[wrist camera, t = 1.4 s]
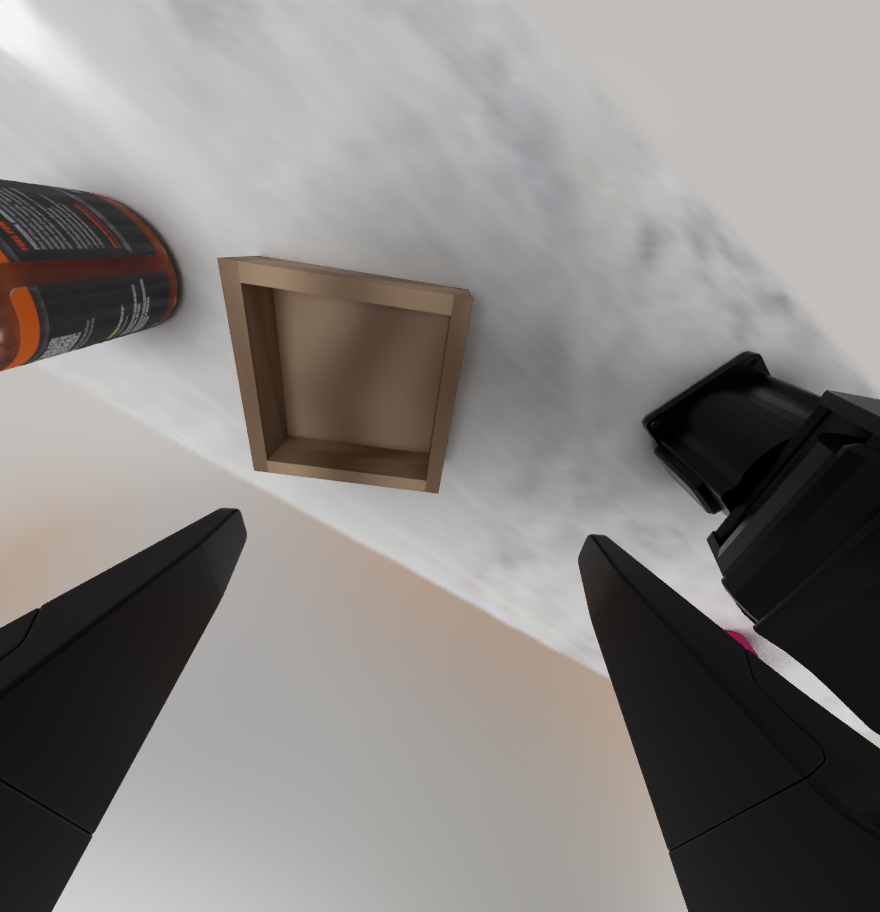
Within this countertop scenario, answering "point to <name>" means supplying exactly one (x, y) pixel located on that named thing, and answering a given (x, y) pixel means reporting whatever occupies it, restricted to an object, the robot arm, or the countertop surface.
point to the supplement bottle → (75, 272)
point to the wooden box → (345, 370)
